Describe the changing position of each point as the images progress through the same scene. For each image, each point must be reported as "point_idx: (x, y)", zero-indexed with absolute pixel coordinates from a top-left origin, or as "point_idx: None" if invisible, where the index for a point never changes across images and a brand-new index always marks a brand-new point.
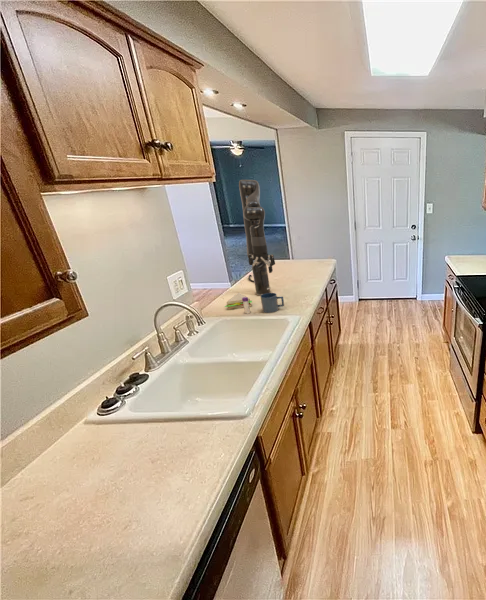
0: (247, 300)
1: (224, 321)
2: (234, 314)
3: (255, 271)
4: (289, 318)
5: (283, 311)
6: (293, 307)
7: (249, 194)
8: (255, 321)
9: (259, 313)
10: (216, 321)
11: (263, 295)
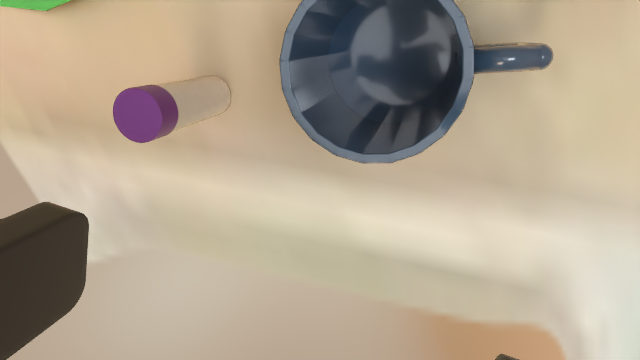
0: (174, 123)
1: (124, 231)
2: None
3: (48, 321)
4: (583, 283)
5: (516, 114)
6: (618, 14)
7: None
8: (324, 278)
9: None
10: None
11: (302, 26)
